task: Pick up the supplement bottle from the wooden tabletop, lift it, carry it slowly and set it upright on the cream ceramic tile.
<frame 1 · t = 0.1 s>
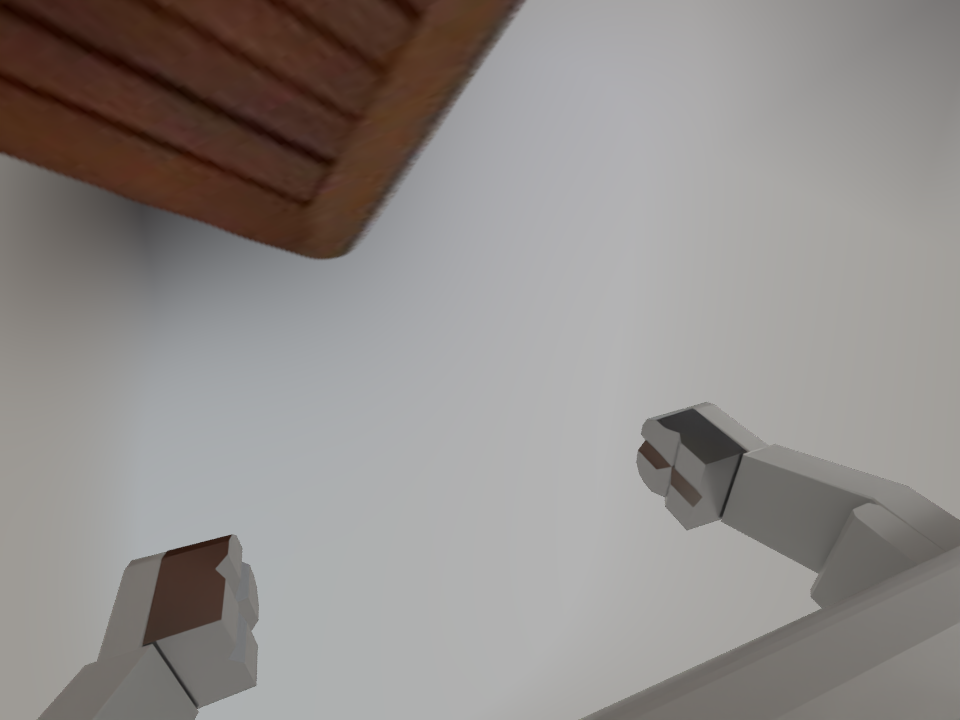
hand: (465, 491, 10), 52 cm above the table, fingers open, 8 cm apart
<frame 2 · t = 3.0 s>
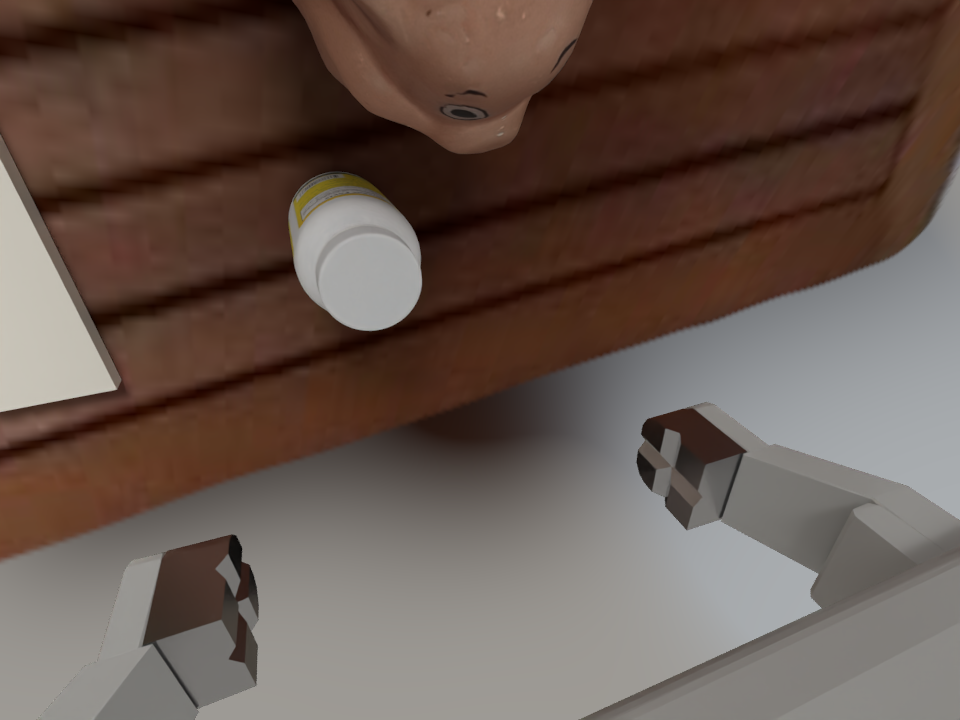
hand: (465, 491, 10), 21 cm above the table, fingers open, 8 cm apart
supplement bottle: (341, 220, 27), on the table
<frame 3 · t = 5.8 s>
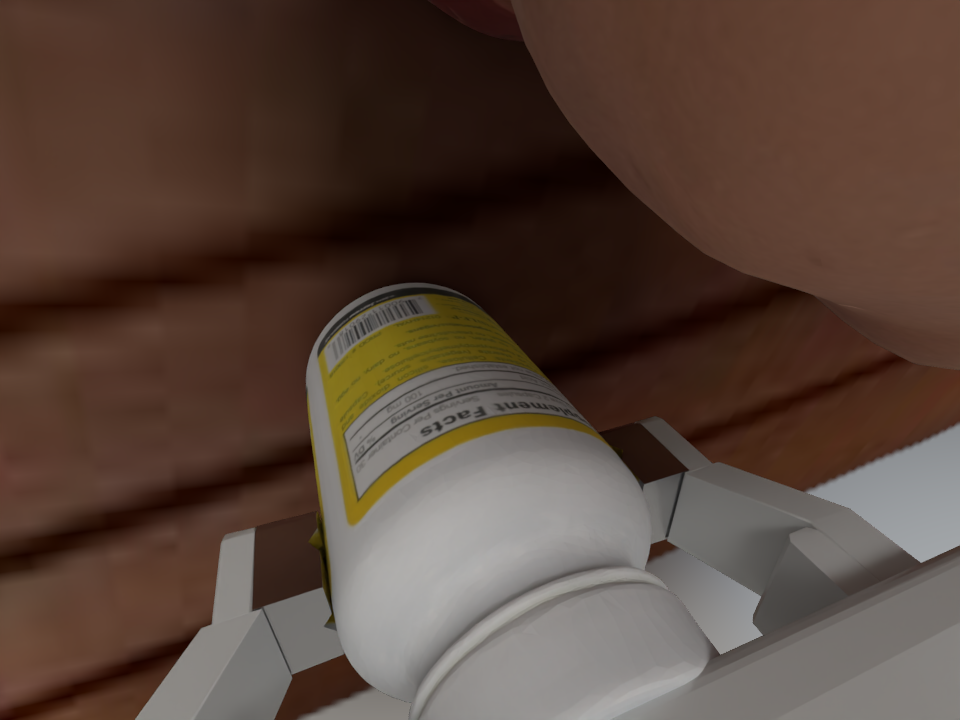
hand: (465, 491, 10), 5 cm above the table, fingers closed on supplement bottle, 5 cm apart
supplement bottle: (407, 365, 14), on the table, touching gripper
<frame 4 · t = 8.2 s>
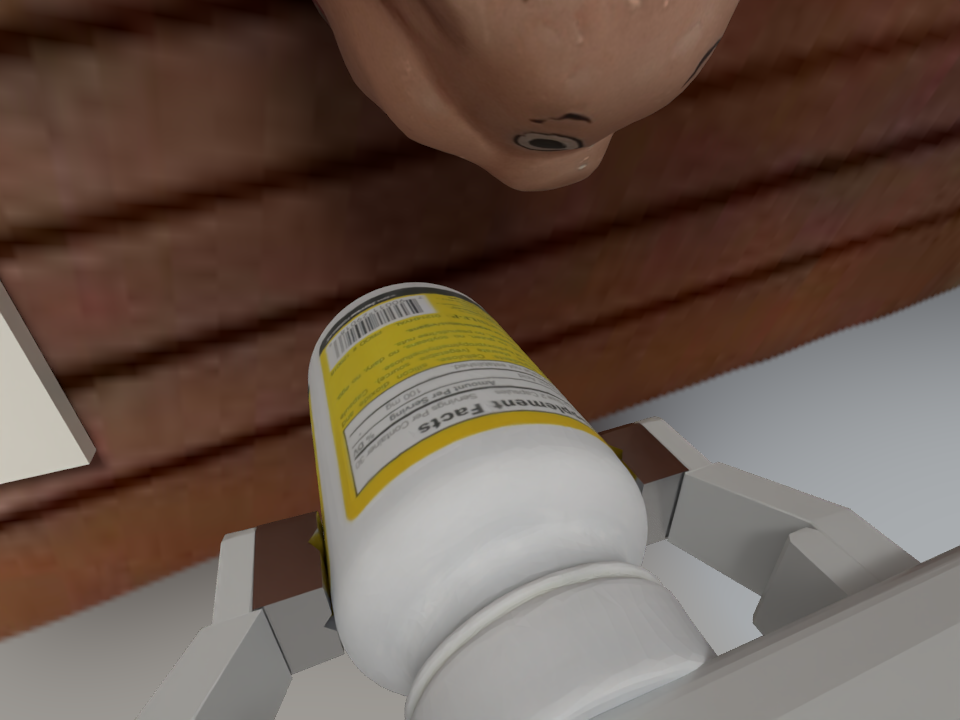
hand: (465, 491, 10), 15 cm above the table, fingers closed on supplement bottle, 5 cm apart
supplement bottle: (408, 364, 14), point 10 cm above the table, touching gripper
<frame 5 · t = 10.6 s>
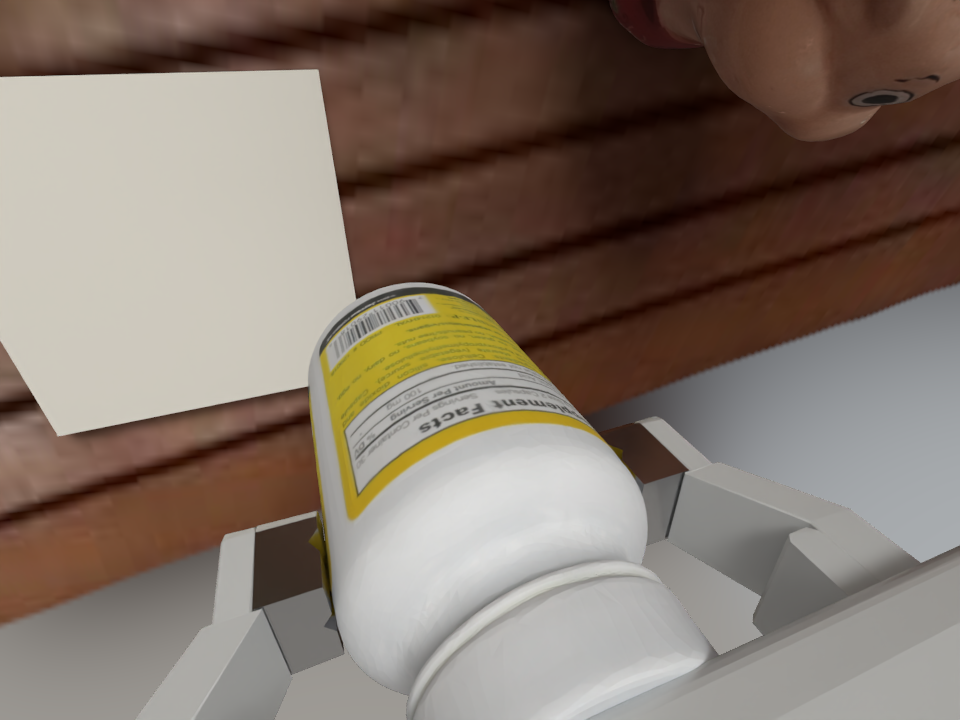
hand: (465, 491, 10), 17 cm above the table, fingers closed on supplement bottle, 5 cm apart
supplement bottle: (408, 364, 14), point 12 cm above the table, touching gripper
tile: (181, 260, 21), on the table
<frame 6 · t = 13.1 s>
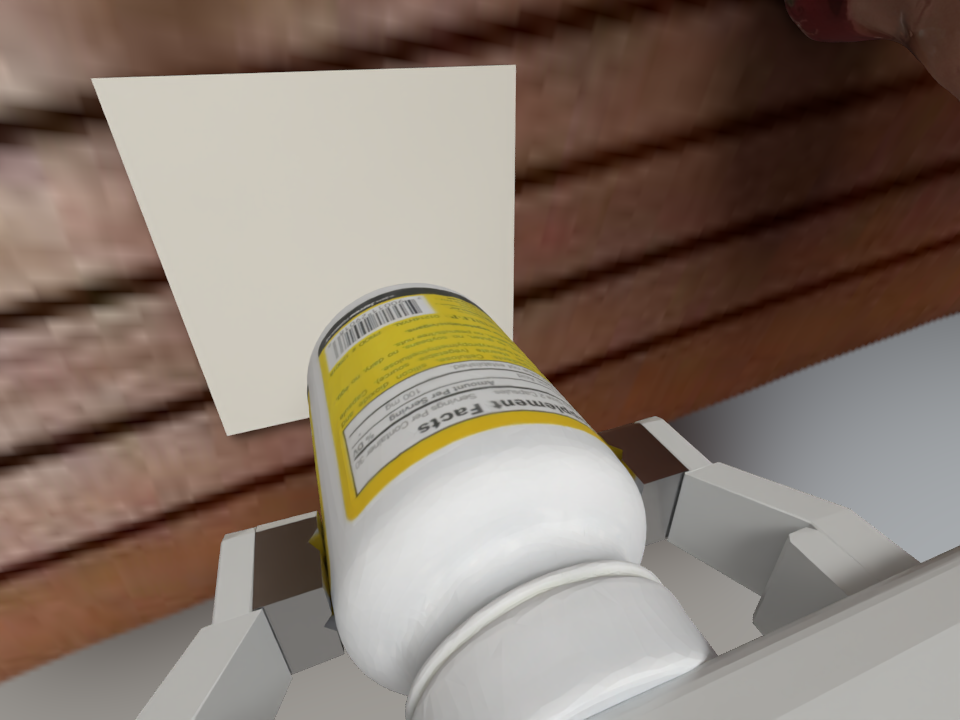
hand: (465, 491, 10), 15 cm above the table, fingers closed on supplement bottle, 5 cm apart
supplement bottle: (407, 364, 14), point 9 cm above the table, touching gripper
tile: (356, 258, 21), on the table
when the fingers open (7 cm above the table, at t = 15.5 s): supplement bottle stays where it is, resting on tile.
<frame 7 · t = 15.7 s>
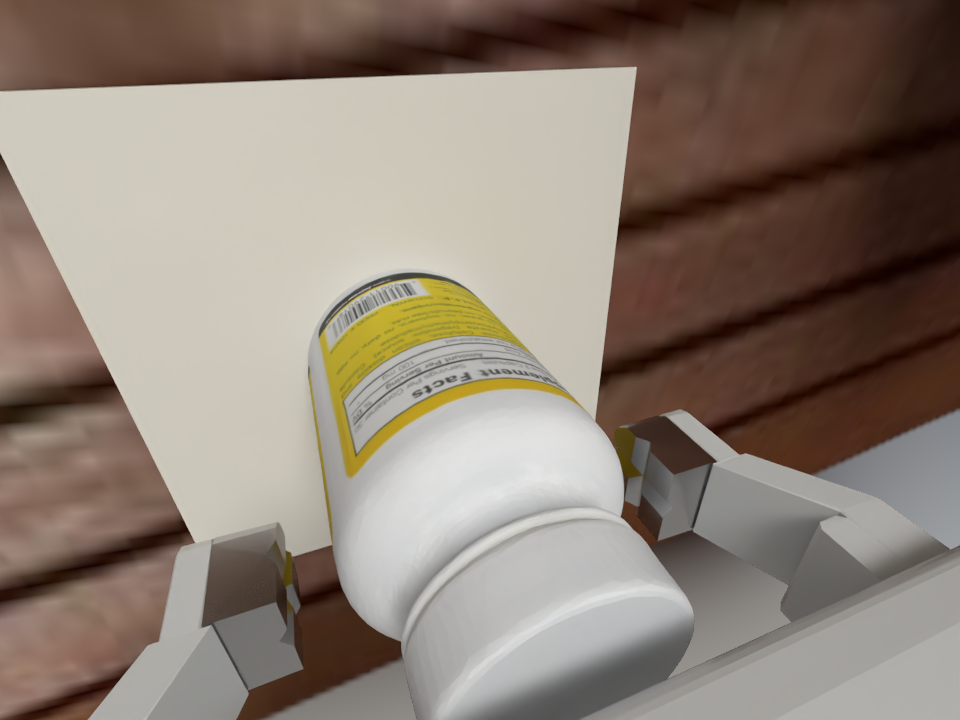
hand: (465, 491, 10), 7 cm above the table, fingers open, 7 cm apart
supplement bottle: (403, 348, 14), point 1 cm above the table, touching tile
tile: (393, 338, 15), on the table
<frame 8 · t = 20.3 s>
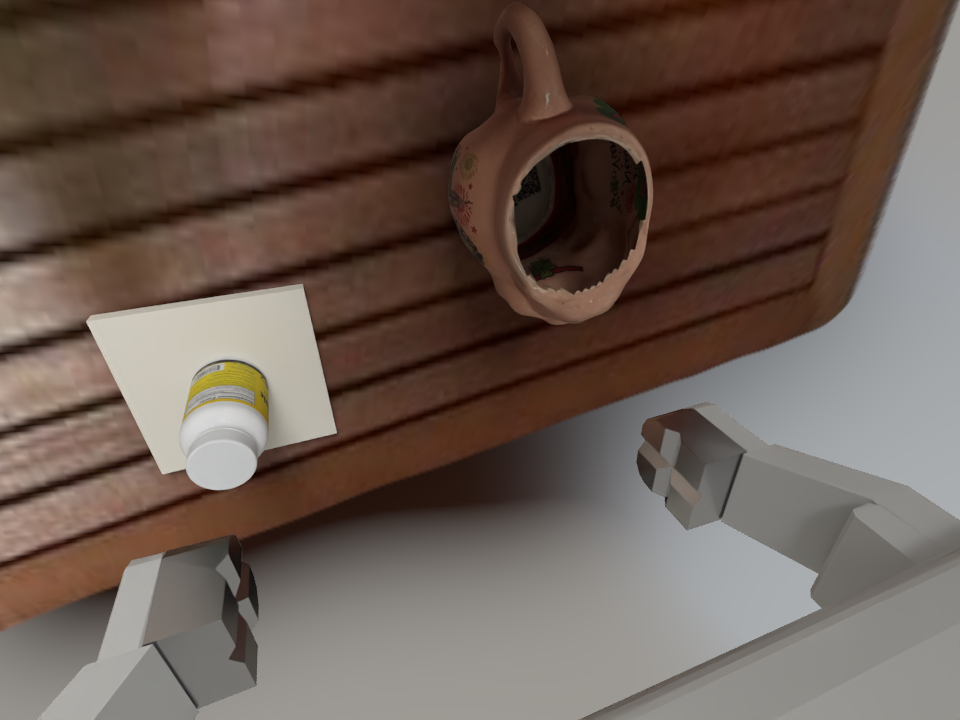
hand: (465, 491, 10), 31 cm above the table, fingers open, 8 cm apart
supplement bottle: (231, 383, 39), point 1 cm above the table, touching tile
decorative planter: (495, 167, 38), on the table
tile: (230, 378, 39), on the table
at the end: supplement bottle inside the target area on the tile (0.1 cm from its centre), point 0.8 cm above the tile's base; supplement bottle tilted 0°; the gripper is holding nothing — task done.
